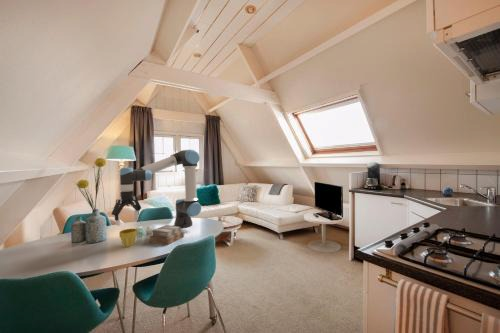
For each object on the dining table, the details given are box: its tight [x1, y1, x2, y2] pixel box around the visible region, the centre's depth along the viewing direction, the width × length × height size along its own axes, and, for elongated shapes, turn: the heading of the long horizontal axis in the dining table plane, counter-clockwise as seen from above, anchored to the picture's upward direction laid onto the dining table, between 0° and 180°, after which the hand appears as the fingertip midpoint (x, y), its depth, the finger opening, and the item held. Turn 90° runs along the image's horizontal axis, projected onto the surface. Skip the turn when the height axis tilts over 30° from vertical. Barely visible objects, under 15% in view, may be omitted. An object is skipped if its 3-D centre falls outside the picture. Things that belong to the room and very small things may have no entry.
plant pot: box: [118, 228, 138, 248], centre depth 148 cm, size 10×10×10 cm
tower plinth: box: [149, 224, 185, 246], centre depth 157 cm, size 16×16×8 cm
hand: (127, 222), depth 148 cm, fingers open, 13 cm apart
